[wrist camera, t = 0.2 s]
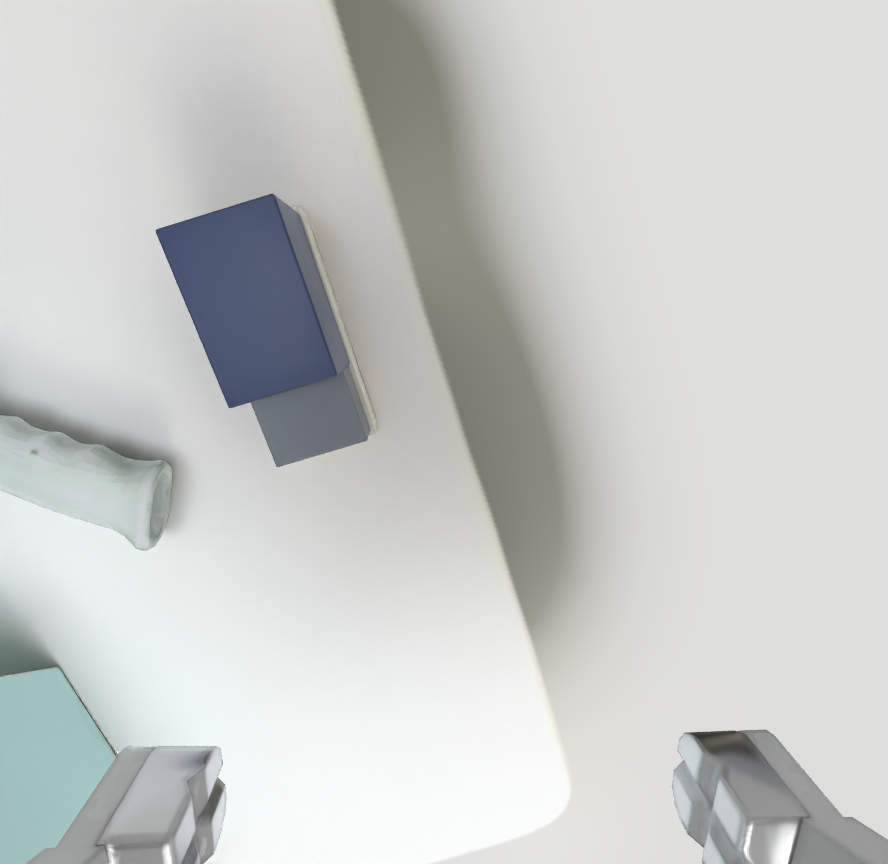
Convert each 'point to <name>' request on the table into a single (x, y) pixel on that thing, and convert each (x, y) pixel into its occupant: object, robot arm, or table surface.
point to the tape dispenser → (85, 481)
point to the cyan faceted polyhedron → (44, 761)
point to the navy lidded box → (271, 325)
